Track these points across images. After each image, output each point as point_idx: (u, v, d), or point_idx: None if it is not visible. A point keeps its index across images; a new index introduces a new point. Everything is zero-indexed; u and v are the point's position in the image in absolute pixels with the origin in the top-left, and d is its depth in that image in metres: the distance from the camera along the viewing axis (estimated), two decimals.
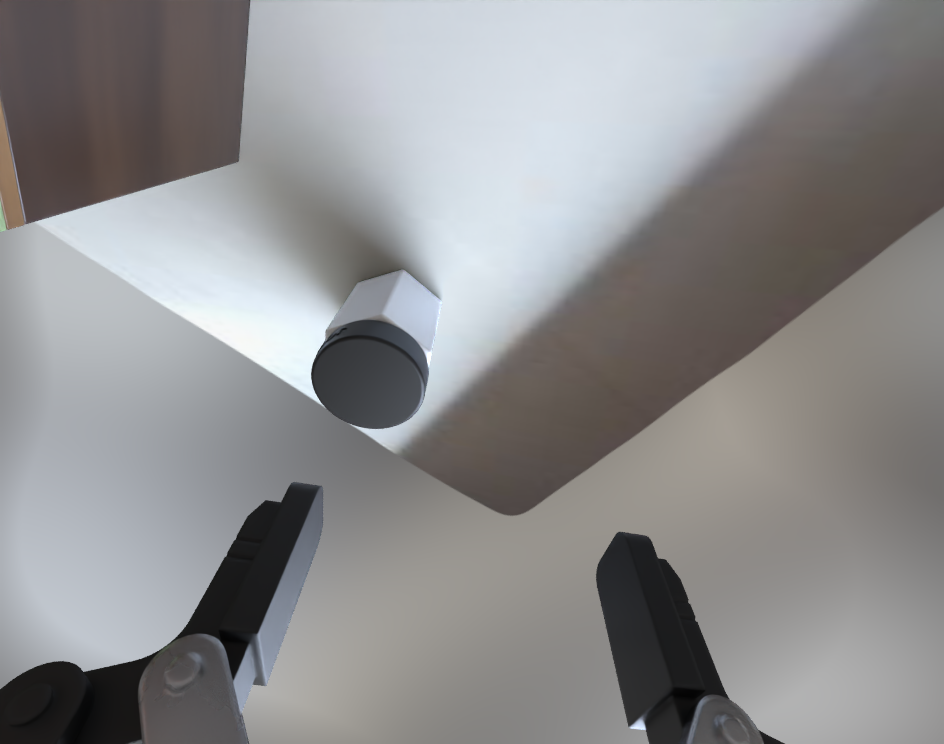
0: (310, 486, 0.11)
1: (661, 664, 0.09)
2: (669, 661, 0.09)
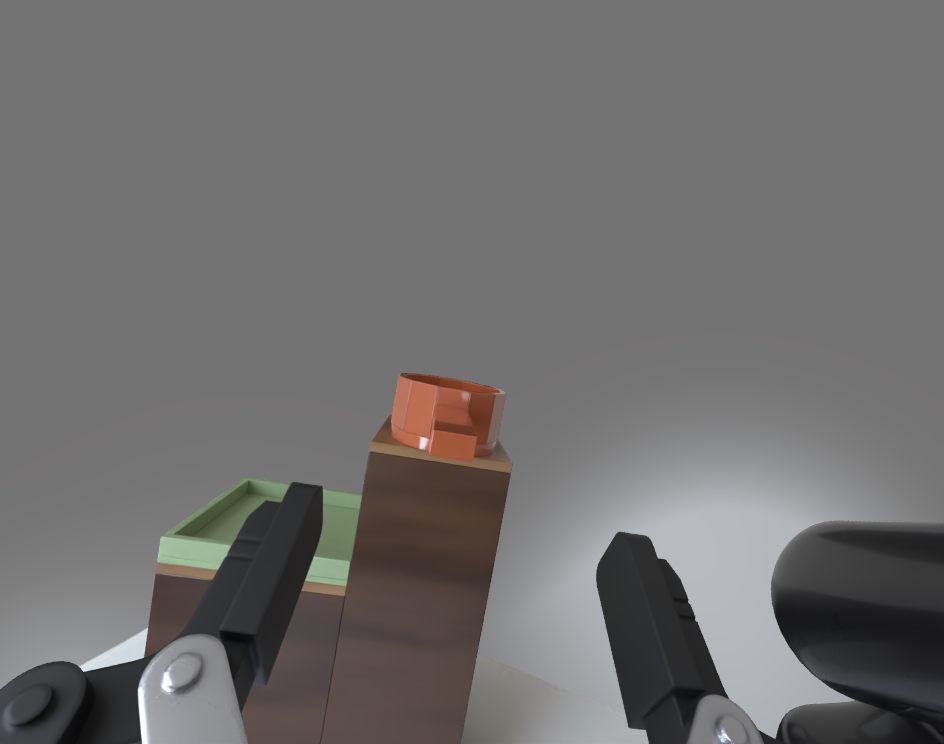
0: (310, 486, 0.11)
1: (661, 664, 0.09)
2: (669, 661, 0.09)
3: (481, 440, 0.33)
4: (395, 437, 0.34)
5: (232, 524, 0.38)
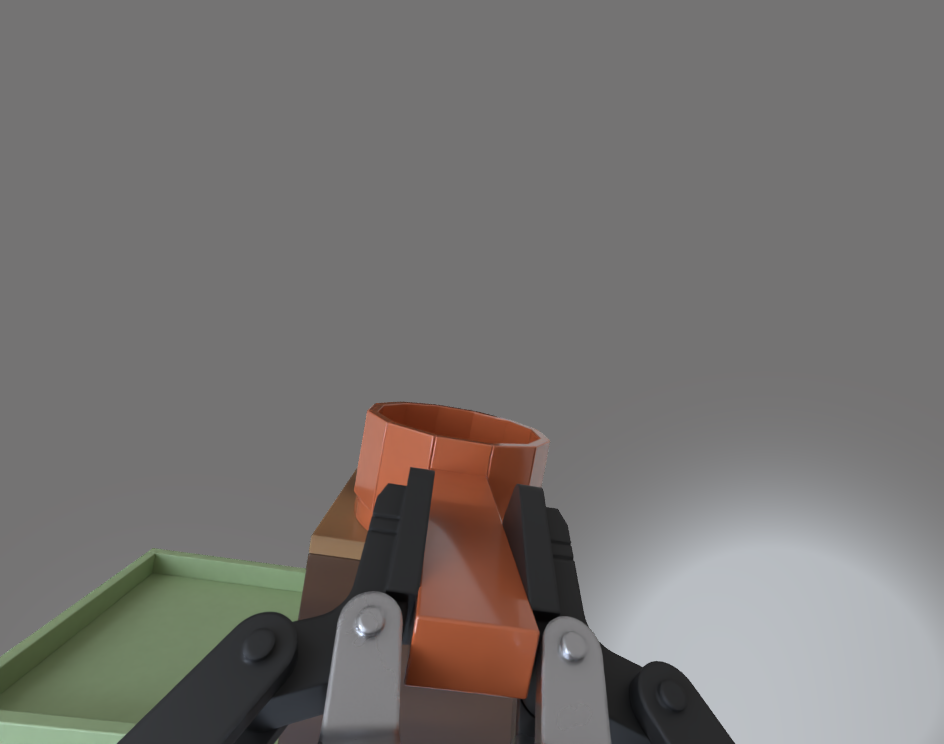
0: (427, 470, 0.12)
1: (526, 593, 0.09)
2: (532, 589, 0.09)
3: None
4: (359, 520, 0.20)
5: (101, 646, 0.24)
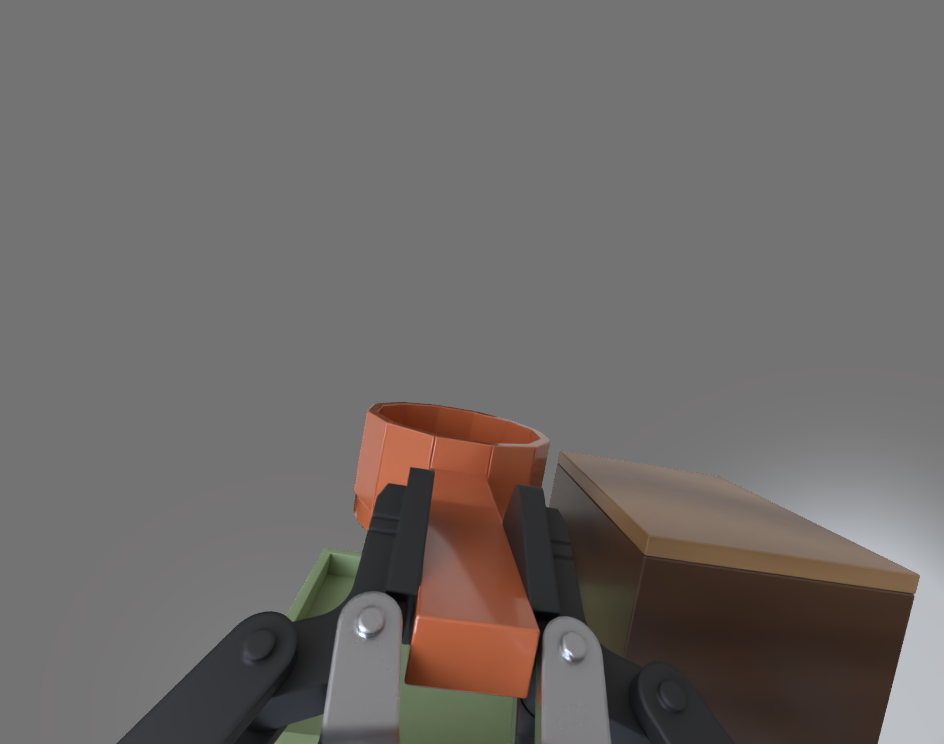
0: (427, 470, 0.12)
1: (526, 593, 0.09)
2: (532, 590, 0.09)
3: None
4: (359, 520, 0.20)
5: None
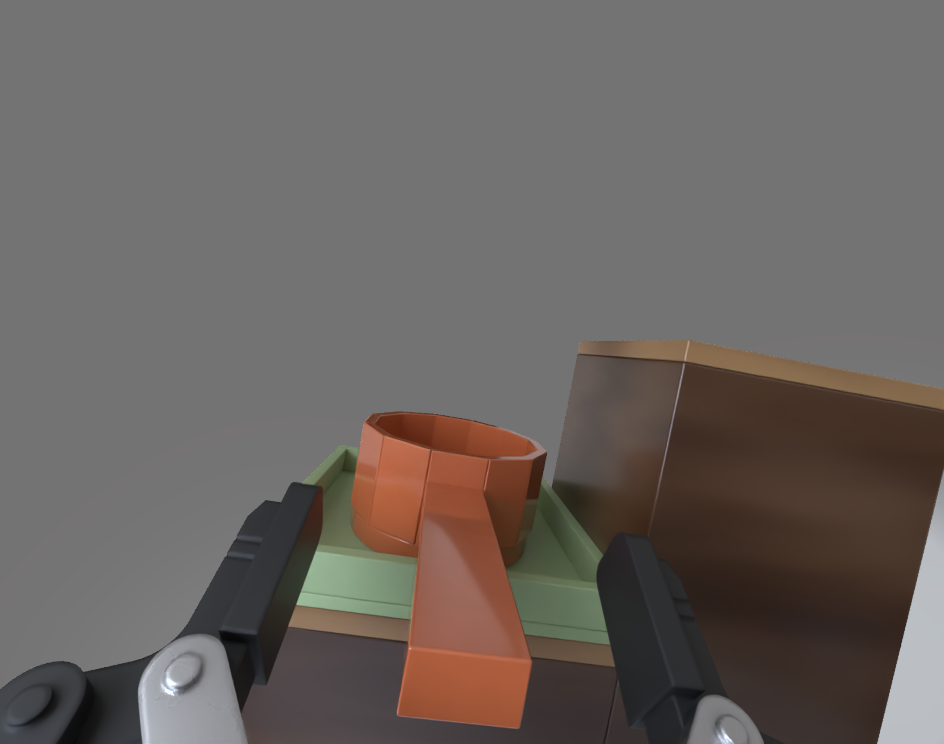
0: (310, 486, 0.11)
1: (661, 664, 0.09)
2: (669, 661, 0.09)
3: (507, 541, 0.19)
4: (355, 532, 0.20)
5: (347, 519, 0.21)
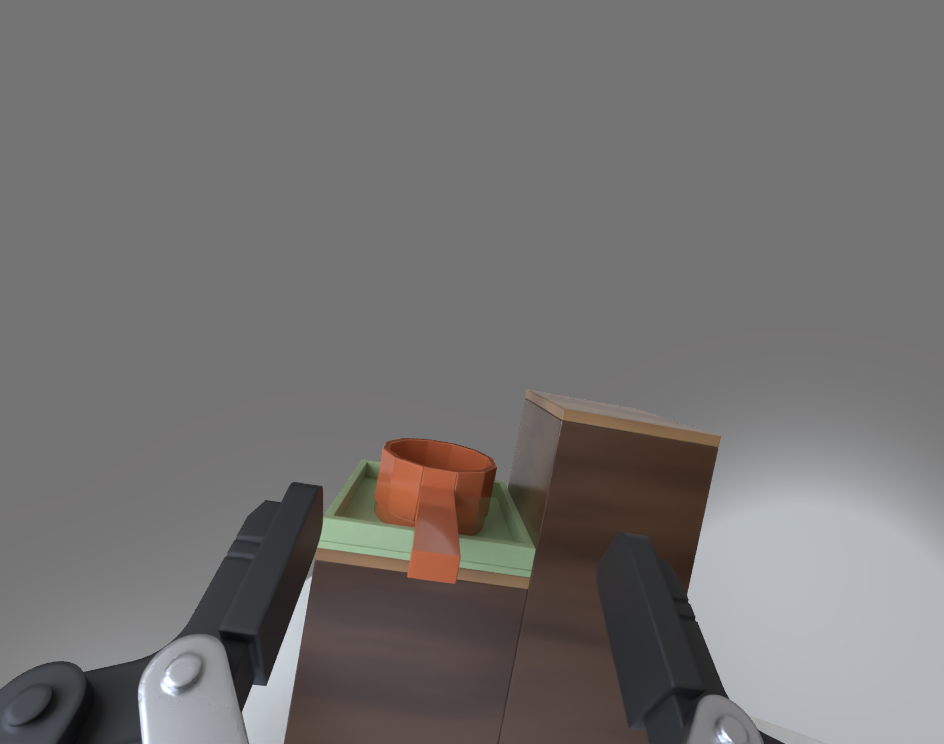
0: (310, 486, 0.11)
1: (661, 664, 0.09)
2: (669, 661, 0.09)
3: (469, 521, 0.31)
4: (378, 516, 0.32)
5: (372, 508, 0.34)
